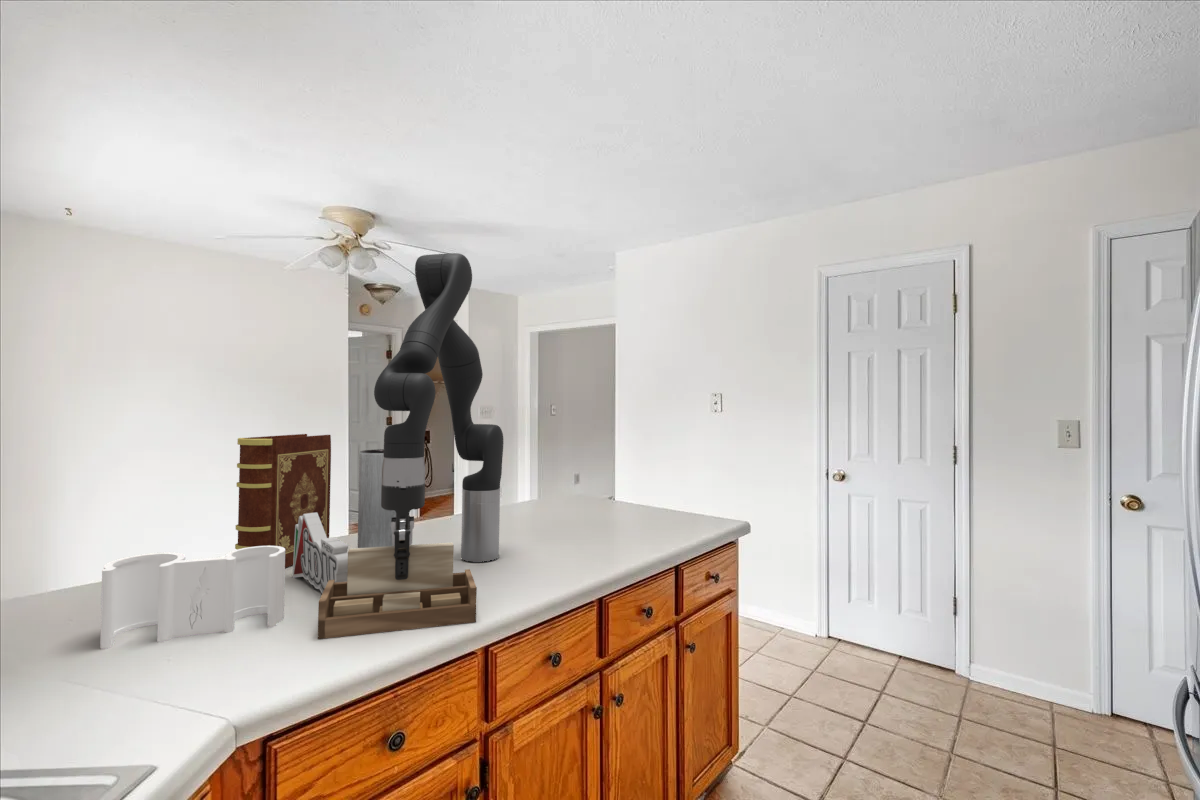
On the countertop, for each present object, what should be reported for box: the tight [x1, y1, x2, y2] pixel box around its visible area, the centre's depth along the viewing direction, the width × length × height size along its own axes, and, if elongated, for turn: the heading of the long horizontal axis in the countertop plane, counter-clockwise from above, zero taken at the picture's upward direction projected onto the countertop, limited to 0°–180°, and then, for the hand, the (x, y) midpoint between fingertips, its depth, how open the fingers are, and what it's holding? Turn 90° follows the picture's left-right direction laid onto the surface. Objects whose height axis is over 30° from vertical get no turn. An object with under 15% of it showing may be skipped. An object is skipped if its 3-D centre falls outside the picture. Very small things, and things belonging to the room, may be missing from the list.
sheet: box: [347, 542, 455, 596], centre depth 102 cm, size 2×18×12 cm, turn 109°
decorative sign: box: [291, 512, 349, 594], centre depth 115 cm, size 23×3×15 cm, turn 47°
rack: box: [317, 568, 478, 640], centre depth 99 cm, size 12×25×6 cm, turn 109°
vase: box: [357, 448, 396, 548], centre depth 130 cm, size 10×10×27 cm
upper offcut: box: [382, 592, 420, 611], centre depth 97 cm, size 3×6×2 cm, turn 107°
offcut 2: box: [431, 593, 461, 607], centre depth 99 cm, size 3×5×4 cm, turn 109°
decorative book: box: [234, 433, 332, 569], centre depth 132 cm, size 22×8×30 cm, turn 168°
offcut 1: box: [333, 598, 374, 617], centre depth 94 cm, size 3×6×4 cm, turn 109°
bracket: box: [99, 546, 286, 650], centre depth 94 cm, size 25×10×12 cm, turn 113°
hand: (401, 576), depth 102 cm, fingers closed on sheet, 2 cm apart
